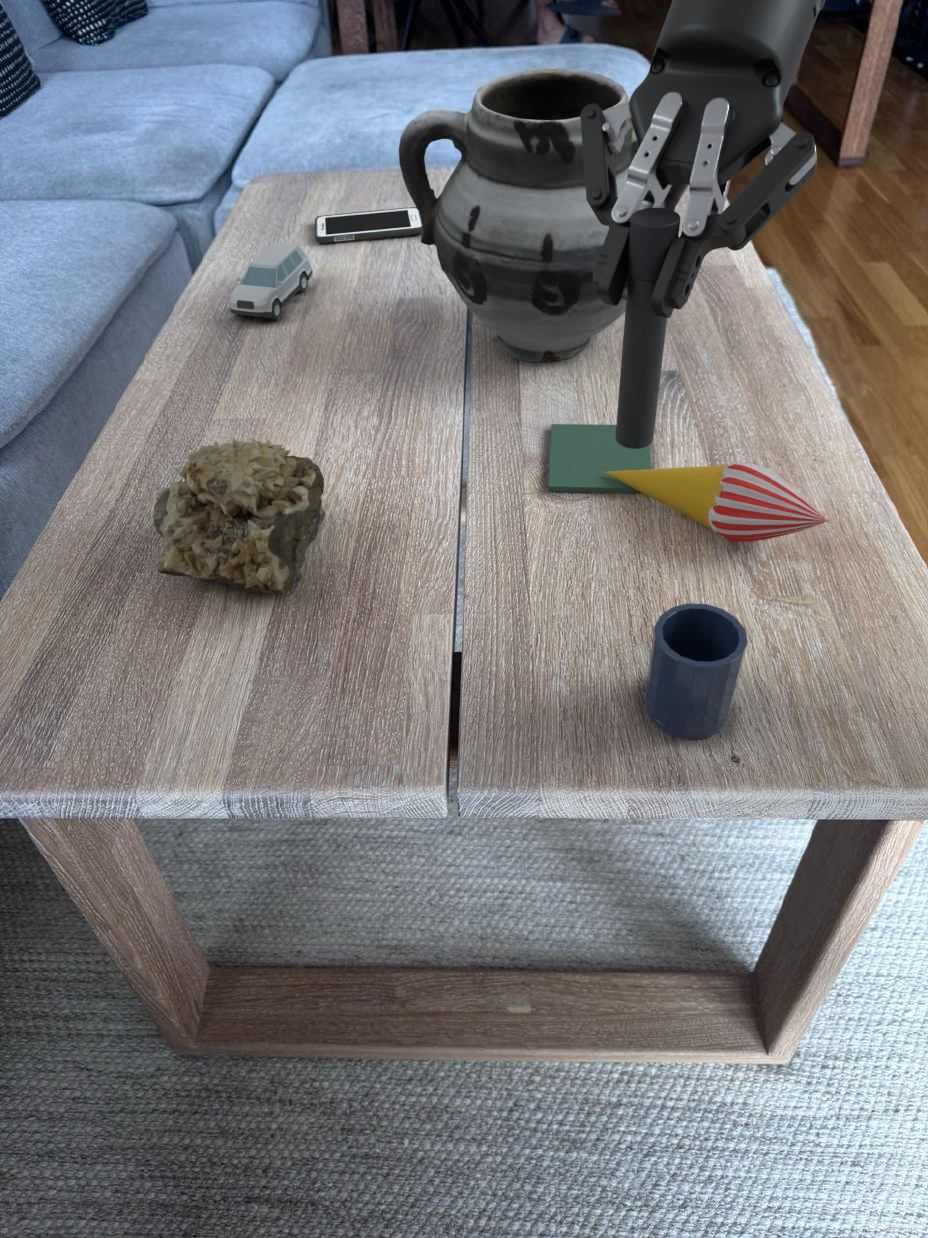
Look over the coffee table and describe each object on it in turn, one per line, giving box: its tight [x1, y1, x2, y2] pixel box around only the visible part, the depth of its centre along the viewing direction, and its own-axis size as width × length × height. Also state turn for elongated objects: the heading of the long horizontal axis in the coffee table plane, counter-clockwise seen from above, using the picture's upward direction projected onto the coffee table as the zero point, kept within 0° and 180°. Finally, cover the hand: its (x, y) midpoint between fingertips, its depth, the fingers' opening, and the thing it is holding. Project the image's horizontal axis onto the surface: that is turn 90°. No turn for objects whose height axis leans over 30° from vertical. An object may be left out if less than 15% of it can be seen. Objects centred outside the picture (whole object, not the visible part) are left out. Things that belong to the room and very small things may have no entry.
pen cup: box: [644, 603, 749, 740], centre depth 59 cm, size 6×6×7 cm
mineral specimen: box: [152, 438, 326, 596], centre depth 71 cm, size 14×13×10 cm
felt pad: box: [547, 423, 652, 494], centre depth 82 cm, size 9×10×1 cm
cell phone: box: [314, 206, 422, 244], centre depth 123 cm, size 8×15×1 cm, turn 97°
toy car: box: [229, 242, 313, 321], centre depth 107 cm, size 6×13×5 cm, turn 162°
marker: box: [615, 208, 682, 449], centre depth 53 cm, size 3×3×14 cm
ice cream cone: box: [604, 462, 829, 543], centre depth 74 cm, size 6×6×20 cm
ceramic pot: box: [398, 67, 689, 363], centre depth 90 cm, size 29×23×25 cm
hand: (633, 304), depth 50 cm, fingers closed on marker, 2 cm apart
